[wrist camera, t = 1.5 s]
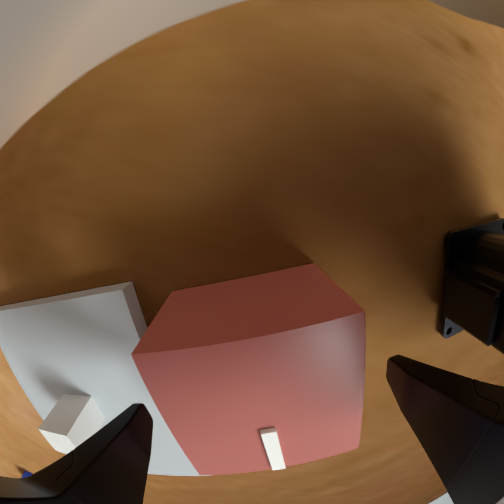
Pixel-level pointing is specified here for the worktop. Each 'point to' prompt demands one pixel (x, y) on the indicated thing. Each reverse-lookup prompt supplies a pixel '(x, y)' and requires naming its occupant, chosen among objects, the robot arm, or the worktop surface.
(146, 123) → the worktop surface
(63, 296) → the peg base plate
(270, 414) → the pink slotted box
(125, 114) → the worktop surface
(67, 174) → the worktop surface
